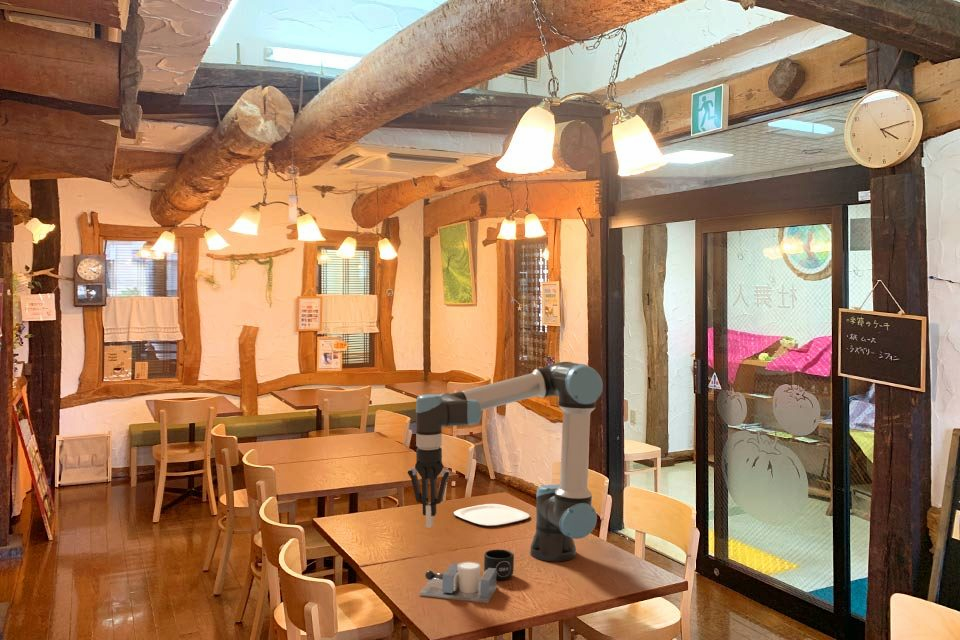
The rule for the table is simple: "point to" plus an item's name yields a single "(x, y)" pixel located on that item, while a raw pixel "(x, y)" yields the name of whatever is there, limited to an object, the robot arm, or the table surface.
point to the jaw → (446, 578)
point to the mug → (500, 563)
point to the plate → (491, 514)
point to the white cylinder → (468, 576)
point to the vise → (482, 595)
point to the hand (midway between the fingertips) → (429, 526)
